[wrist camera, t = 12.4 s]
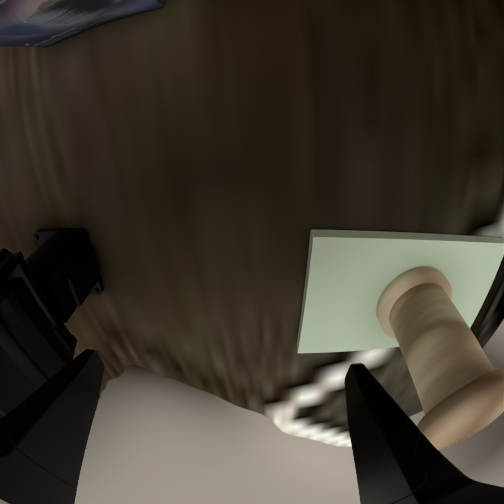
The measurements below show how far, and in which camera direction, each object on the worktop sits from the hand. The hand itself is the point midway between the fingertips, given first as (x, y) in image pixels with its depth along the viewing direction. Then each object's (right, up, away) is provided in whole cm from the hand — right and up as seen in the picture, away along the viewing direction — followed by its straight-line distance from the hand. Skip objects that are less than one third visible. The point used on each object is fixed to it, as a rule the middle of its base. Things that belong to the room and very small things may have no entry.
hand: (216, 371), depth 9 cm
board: (+15, 0, +14) cm, 21 cm away
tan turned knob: (+15, 0, +13) cm, 20 cm away
